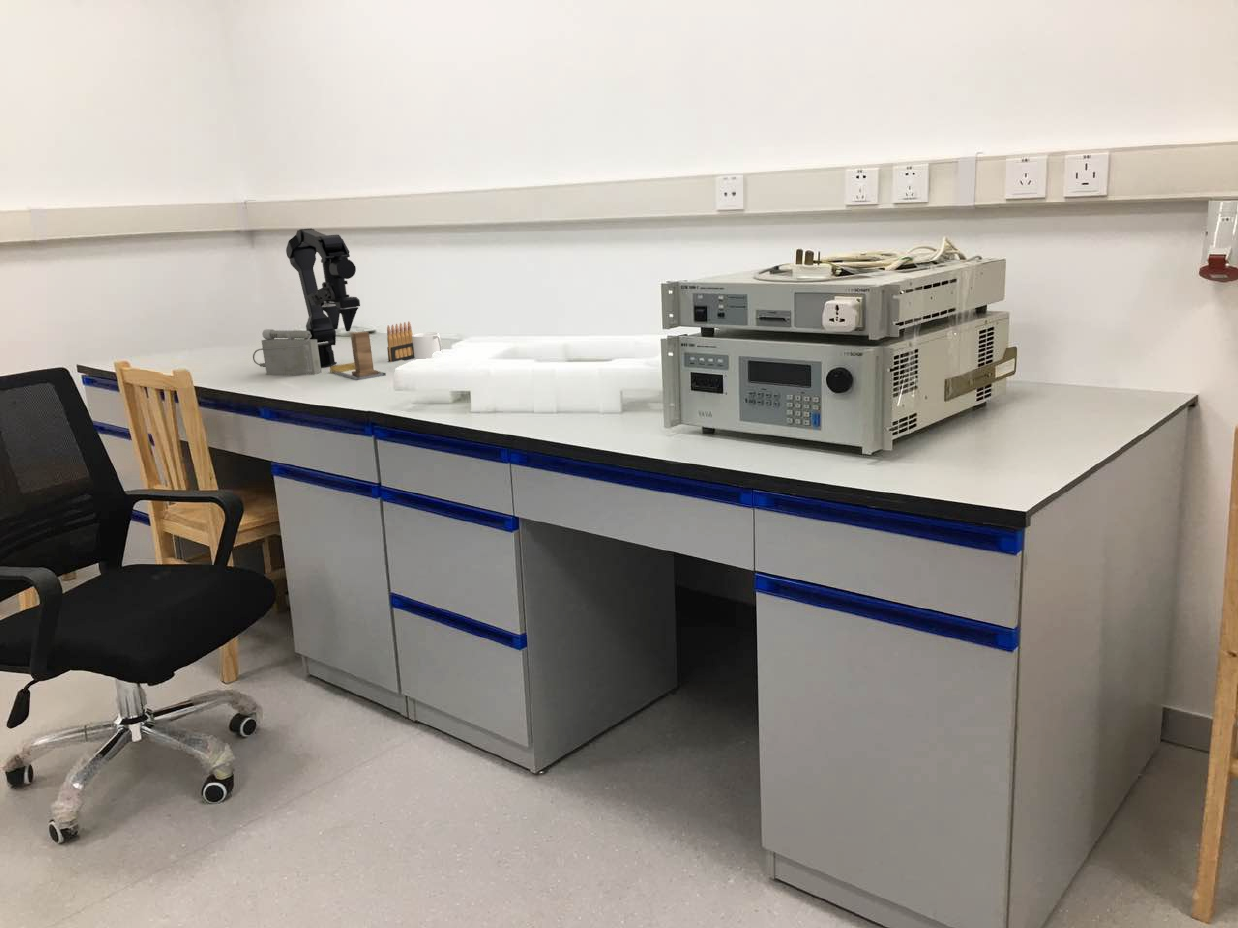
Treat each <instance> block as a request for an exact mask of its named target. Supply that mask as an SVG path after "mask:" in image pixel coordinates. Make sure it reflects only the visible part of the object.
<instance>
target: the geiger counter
mask: <svg viewBox="0 0 1238 928" xmlns="http://www.w3.org/2000/svg"><path fill="white" fill-rule="evenodd" d="M261 333H262V337H263V339H261V346H262V348H257V349H256V350H255V351H254V352H253V354H252V361H253V362H254V364H256V365H258V366H259V367H262V368H265V372H266V373H265V374H266V376H267V375H268V376H293V377H294V376H296V377H297V376H304V375H305V376H306V375H318V374H319V375H320V374H321V373H322V372H323V371H322V367H321V365H320V358H319V350H318V344H319V343H317V339H310V338H311V336H312V335H311V333H310V331H306V330H280V329H279V330H278V329H277V330H275V329H272V328H271V329H267V328H265V329H264V330H263V331H262V332H261ZM304 338H308V339H304ZM258 351H262V352H263V360H264V362H263V363H261V362H260V363H259V362H257V361H256V360H255V355H256V353H257V352H258Z"/></svg>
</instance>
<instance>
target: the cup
mask: <svg viewBox="0 0 1238 928" xmlns="http://www.w3.org/2000/svg"><path fill="white" fill-rule="evenodd" d="M440 334H441V333H439V332H421V333H416V334H415V333H414V334H413V335H412V340H413V348H414V357H415V358H414V360H415V359H426V358H431V357H432V354H433V353H434V352H436V351H441V350H442V351H443V345H442V344H443V343H442V339H441V335H440Z"/></svg>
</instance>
